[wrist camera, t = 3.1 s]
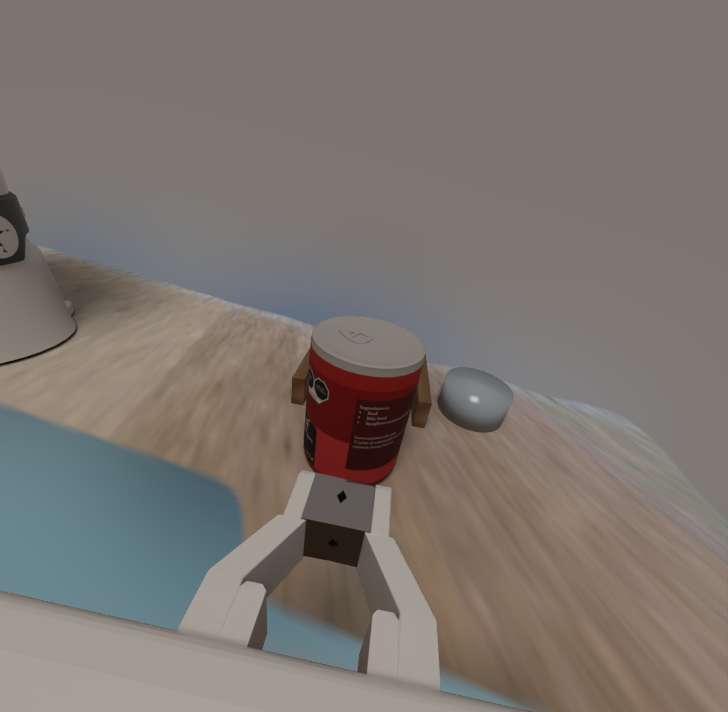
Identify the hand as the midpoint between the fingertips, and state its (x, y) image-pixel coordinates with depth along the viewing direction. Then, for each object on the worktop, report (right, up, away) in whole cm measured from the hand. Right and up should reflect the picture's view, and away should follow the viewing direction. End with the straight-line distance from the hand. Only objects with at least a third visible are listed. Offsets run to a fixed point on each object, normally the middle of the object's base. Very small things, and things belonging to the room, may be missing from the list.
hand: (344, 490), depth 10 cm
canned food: (-1, -4, +16) cm, 17 cm away
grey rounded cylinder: (+12, -2, +24) cm, 27 cm away
